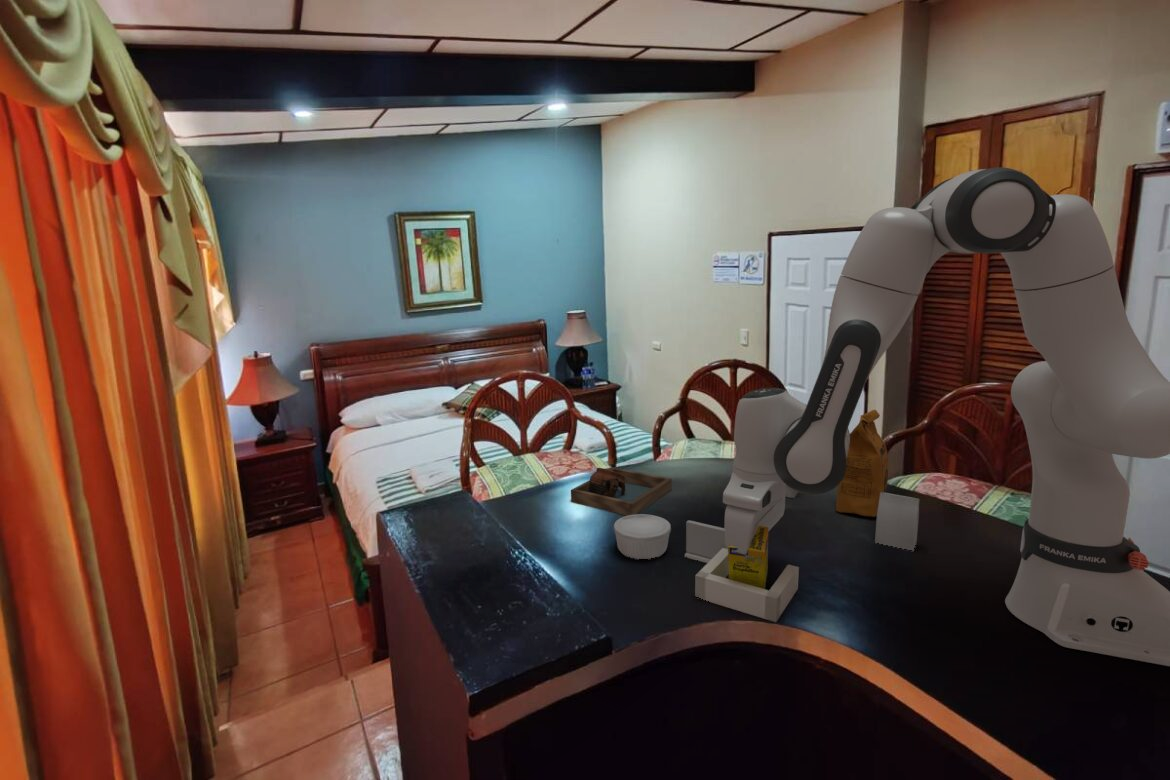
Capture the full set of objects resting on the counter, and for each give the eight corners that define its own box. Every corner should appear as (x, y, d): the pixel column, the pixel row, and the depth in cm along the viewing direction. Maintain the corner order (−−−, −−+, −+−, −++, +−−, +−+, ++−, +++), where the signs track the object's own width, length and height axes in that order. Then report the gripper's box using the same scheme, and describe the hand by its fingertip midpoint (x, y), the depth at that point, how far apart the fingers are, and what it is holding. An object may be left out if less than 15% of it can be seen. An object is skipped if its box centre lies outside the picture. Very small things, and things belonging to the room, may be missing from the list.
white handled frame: (802, 581, 105) (803, 560, 104) (776, 622, 94) (777, 598, 93) (690, 552, 117) (690, 532, 116) (654, 584, 106) (654, 563, 105)
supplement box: (765, 600, 100) (765, 552, 94) (728, 593, 102) (727, 547, 96) (768, 572, 105) (769, 526, 99) (732, 567, 107) (731, 521, 101)
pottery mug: (577, 496, 149) (588, 464, 150) (610, 508, 151) (620, 477, 153) (595, 501, 137) (606, 466, 139) (631, 513, 140) (641, 479, 142)
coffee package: (893, 505, 137) (900, 411, 132) (876, 523, 128) (884, 422, 123) (847, 495, 143) (853, 405, 139) (829, 512, 134) (834, 416, 130)
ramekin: (656, 533, 126) (656, 510, 125) (681, 557, 115) (681, 531, 114) (606, 542, 123) (605, 518, 122) (626, 567, 112) (626, 541, 111)
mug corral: (671, 490, 150) (671, 478, 149) (632, 516, 134) (632, 504, 134) (613, 478, 159) (613, 467, 159) (571, 501, 144) (570, 490, 143)
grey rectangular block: (913, 551, 115) (917, 502, 113) (874, 543, 119) (878, 495, 117) (916, 544, 118) (920, 496, 116) (878, 536, 122) (882, 489, 120)
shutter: (733, 560, 112) (734, 519, 110) (730, 563, 110) (731, 522, 109) (688, 548, 117) (689, 509, 115) (685, 551, 116) (685, 512, 114)
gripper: (761, 462, 113) (758, 531, 116) (718, 497, 96) (716, 576, 99) (795, 468, 109) (791, 539, 112) (756, 505, 93) (753, 587, 96)
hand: (756, 557), depth 106 cm, fingers closed
